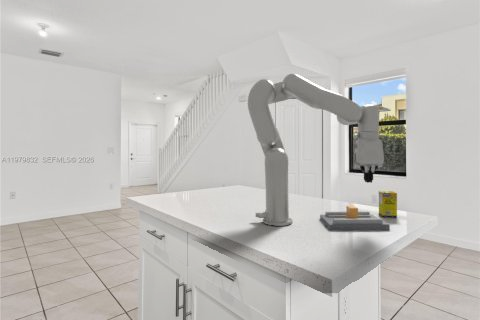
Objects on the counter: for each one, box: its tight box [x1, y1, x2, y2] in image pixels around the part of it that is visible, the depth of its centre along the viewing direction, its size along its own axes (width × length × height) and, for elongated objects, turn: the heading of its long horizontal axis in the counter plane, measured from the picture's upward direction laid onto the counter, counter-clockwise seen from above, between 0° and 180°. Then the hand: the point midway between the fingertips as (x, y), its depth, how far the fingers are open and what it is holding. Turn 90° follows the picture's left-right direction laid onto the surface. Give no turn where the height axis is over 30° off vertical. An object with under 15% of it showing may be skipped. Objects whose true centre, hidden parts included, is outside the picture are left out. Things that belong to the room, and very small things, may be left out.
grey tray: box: [324, 210, 384, 224], centre depth 111 cm, size 18×14×2 cm
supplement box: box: [378, 190, 398, 219], centre depth 123 cm, size 6×6×11 cm
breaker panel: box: [319, 213, 391, 231], centre depth 111 cm, size 22×16×3 cm
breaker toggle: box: [345, 205, 359, 219], centre depth 111 cm, size 3×5×5 cm, turn 176°
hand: (368, 182), depth 110 cm, fingers closed
